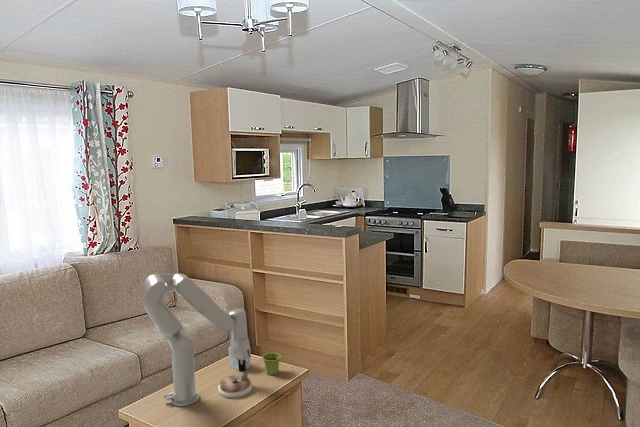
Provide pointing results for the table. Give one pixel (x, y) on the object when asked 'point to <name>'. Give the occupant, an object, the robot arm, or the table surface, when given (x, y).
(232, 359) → the skincare box
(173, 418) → the table surface
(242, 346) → the robot arm
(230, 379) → the dial
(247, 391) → the stand
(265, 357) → the plant pot
